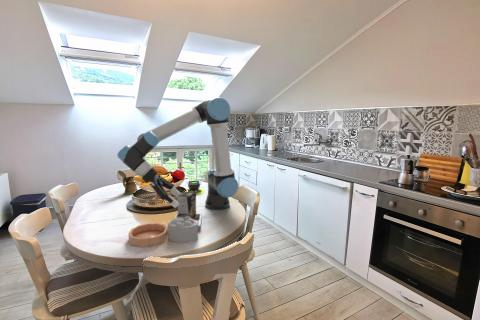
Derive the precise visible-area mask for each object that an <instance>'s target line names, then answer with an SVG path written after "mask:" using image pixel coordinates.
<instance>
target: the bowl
mask: <svg viewBox="0 0 480 320" xmlns="http://www.w3.org/2000/svg"><path fill="white" fill-rule="evenodd" d="M167 239H168V226H166V225H165V224H163V223H159V222H147V223H144V224H143V223H142V224H138V225H137V226H135V227H133V228H131V229H130V230H129V232H128V242H129V243H130V246H133V247H134V246H135V247H137V248H147V247H152V246H153V247H154V246H156V245H159V244H162V243H163V242H165V241H166V240H167Z"/></svg>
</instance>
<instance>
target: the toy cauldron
mask: <svg viewBox="0 0 480 320" xmlns="http://www.w3.org/2000/svg"><path fill="white" fill-rule="evenodd" d="M186 184H187V187H188V189H186V190H188V192H196V195H202V194H203V193H204V192H205V190H204V189H203V188H200V186H201V185H202V181H200V180H196V179H195V180H190V179H189V180H188V181H186Z"/></svg>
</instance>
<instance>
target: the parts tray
mask: <svg viewBox="0 0 480 320" xmlns="http://www.w3.org/2000/svg"><path fill="white" fill-rule="evenodd" d="M176 217H178V213H175V216H174V219H175V218H176ZM202 218H203V217H202V213H200V212H199V213H197V212H196V219H199V220H198V231H201V228H202Z"/></svg>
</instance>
